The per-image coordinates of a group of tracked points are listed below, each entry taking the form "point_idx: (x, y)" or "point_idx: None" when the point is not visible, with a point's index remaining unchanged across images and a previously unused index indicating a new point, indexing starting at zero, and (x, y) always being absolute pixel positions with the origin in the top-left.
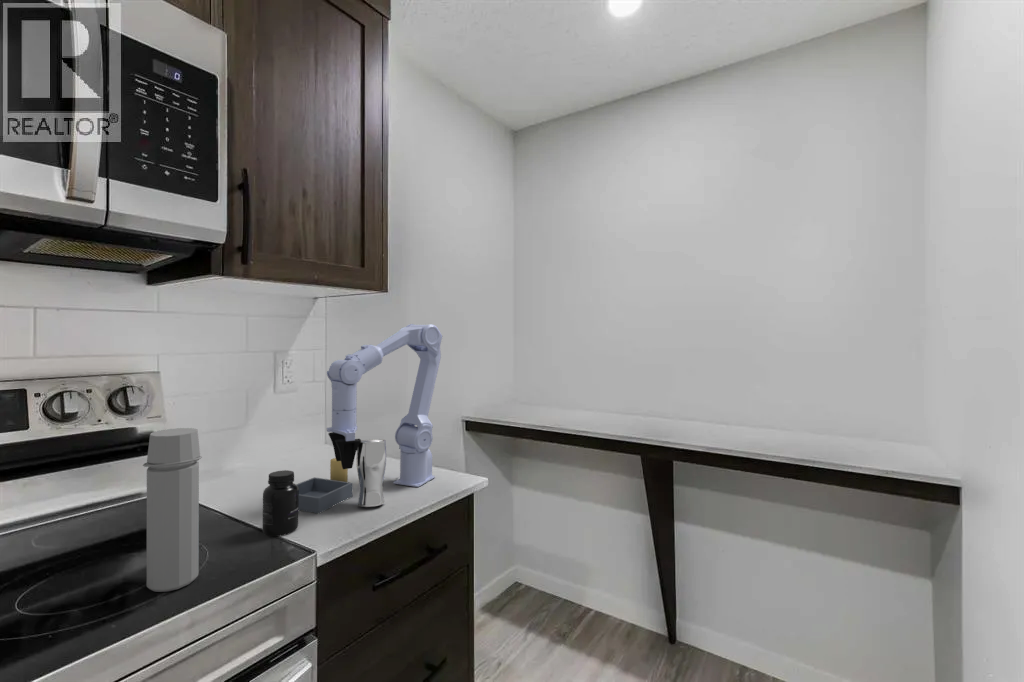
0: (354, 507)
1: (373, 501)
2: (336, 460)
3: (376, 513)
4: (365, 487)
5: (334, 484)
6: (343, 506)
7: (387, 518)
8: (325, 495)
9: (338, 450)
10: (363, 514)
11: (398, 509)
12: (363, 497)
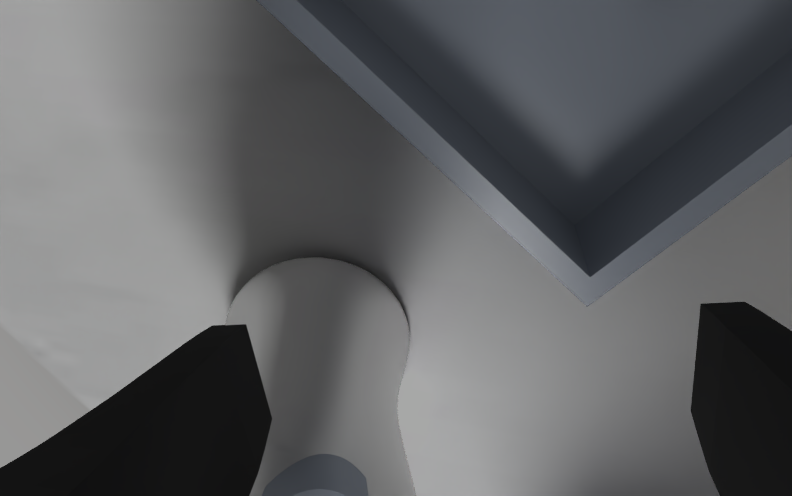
0: (318, 226)
1: None
2: (738, 304)
3: (169, 329)
4: None
5: (736, 142)
6: (366, 155)
7: (79, 365)
8: (287, 28)
9: (786, 458)
10: (167, 260)
11: None
12: (244, 320)
